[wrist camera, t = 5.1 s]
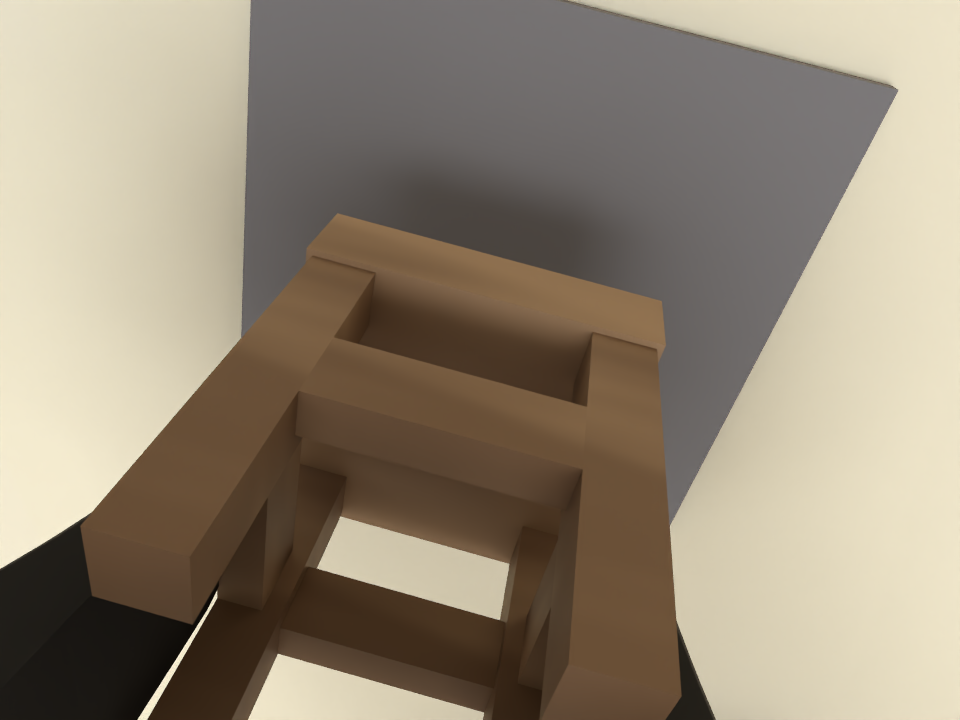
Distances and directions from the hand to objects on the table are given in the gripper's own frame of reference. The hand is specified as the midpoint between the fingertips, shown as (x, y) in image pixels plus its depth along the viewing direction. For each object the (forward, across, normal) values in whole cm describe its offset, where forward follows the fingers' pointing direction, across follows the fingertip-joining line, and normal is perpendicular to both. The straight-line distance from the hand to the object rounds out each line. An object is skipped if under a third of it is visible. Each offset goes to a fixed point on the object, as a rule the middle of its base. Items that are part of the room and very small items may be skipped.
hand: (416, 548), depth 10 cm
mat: (+9, 0, 0) cm, 9 cm away
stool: (+4, 0, 0) cm, 4 cm away
